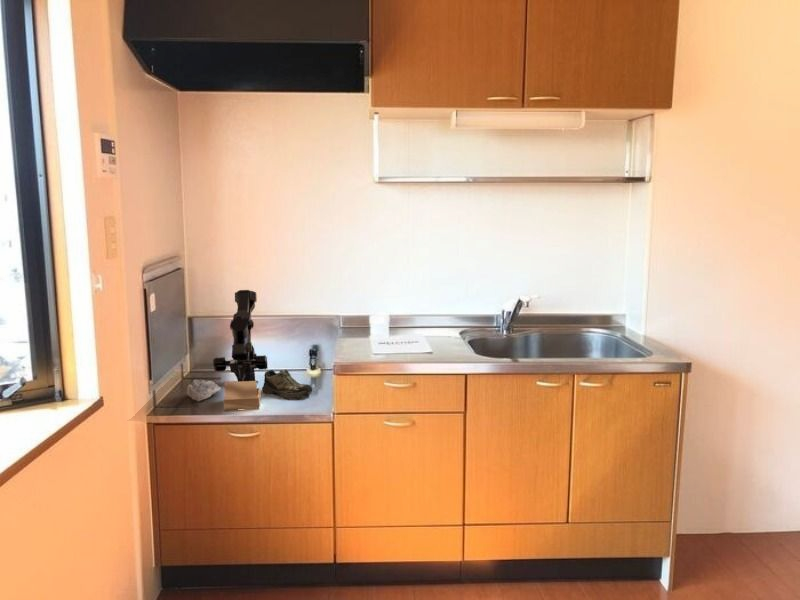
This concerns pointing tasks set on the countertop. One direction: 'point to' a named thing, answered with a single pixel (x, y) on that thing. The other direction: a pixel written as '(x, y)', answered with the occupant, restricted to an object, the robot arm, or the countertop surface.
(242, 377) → the robot arm
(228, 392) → the flap
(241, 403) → the carton
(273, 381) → the hiking shoe
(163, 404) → the countertop surface
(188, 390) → the rock
